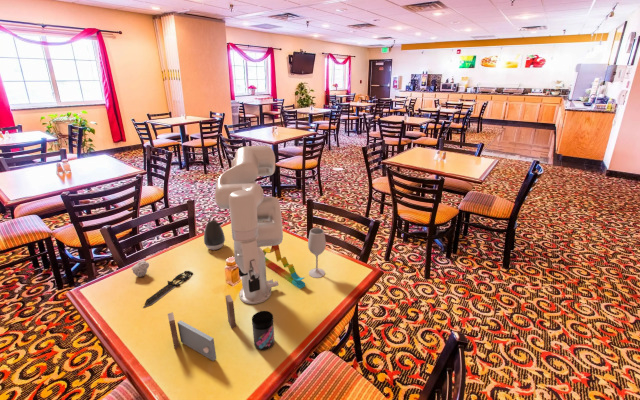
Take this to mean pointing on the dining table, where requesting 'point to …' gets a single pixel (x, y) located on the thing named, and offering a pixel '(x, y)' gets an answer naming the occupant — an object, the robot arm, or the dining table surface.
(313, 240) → the wineglass
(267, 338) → the supplement container
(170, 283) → the knife
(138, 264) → the white rounded lump
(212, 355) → the door
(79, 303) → the dining table surface
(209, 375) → the dining table surface
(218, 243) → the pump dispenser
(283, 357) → the dining table surface
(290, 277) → the chart
